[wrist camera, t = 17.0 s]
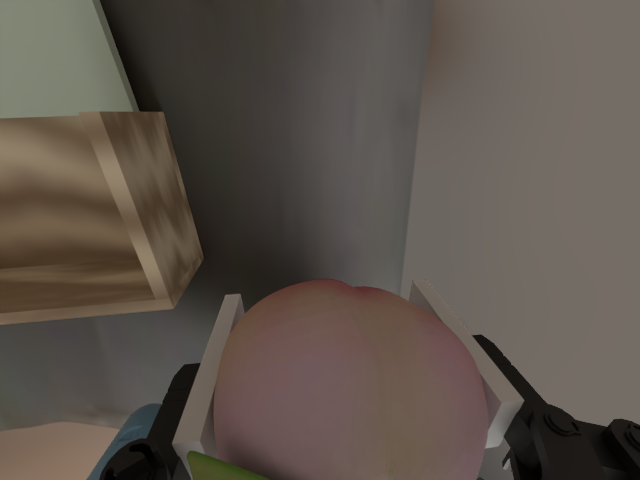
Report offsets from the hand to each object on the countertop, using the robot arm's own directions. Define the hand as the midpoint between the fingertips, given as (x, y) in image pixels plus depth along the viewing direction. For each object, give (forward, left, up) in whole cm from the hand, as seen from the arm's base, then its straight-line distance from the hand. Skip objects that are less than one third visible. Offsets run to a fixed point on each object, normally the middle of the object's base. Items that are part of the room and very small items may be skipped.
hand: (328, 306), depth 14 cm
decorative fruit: (0, 0, 0) cm, 1 cm away
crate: (+2, +25, -17) cm, 31 cm away
